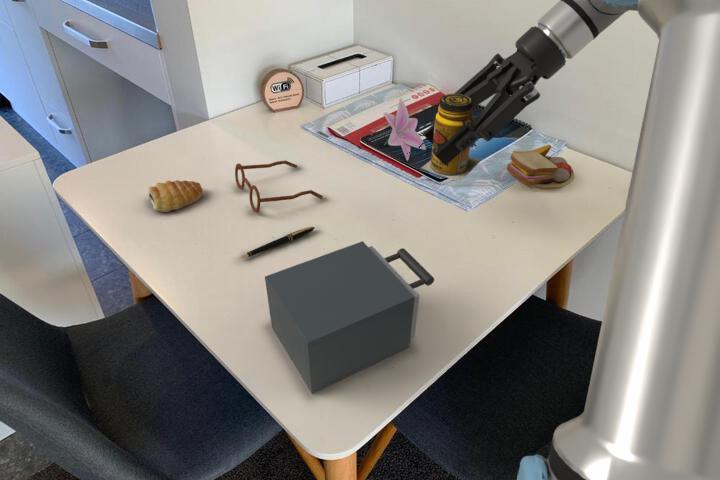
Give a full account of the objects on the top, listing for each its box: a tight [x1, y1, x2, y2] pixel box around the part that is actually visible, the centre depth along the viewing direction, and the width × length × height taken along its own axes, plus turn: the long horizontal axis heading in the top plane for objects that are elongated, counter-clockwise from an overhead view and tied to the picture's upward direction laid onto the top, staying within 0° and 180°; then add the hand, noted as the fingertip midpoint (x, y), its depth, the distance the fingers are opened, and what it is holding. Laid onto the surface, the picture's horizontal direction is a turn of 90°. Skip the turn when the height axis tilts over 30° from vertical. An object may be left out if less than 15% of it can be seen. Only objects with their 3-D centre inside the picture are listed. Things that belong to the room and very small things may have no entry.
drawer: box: [368, 245, 435, 340], centre depth 70 cm, size 18×11×8 cm, turn 120°
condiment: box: [421, 93, 483, 182], centre depth 85 cm, size 7×8×12 cm
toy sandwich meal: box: [506, 144, 575, 191], centre depth 103 cm, size 12×14×5 cm
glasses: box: [234, 160, 324, 213], centre depth 98 cm, size 13×13×5 cm
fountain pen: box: [239, 226, 316, 259], centre depth 86 cm, size 14×1×2 cm, turn 126°
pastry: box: [147, 179, 204, 213], centre depth 95 cm, size 9×7×4 cm
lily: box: [383, 97, 426, 162], centre depth 110 cm, size 12×12×10 cm
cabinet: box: [264, 240, 415, 395], centre depth 68 cm, size 15×13×10 cm
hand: (434, 149), depth 85 cm, fingers closed on condiment, 6 cm apart
